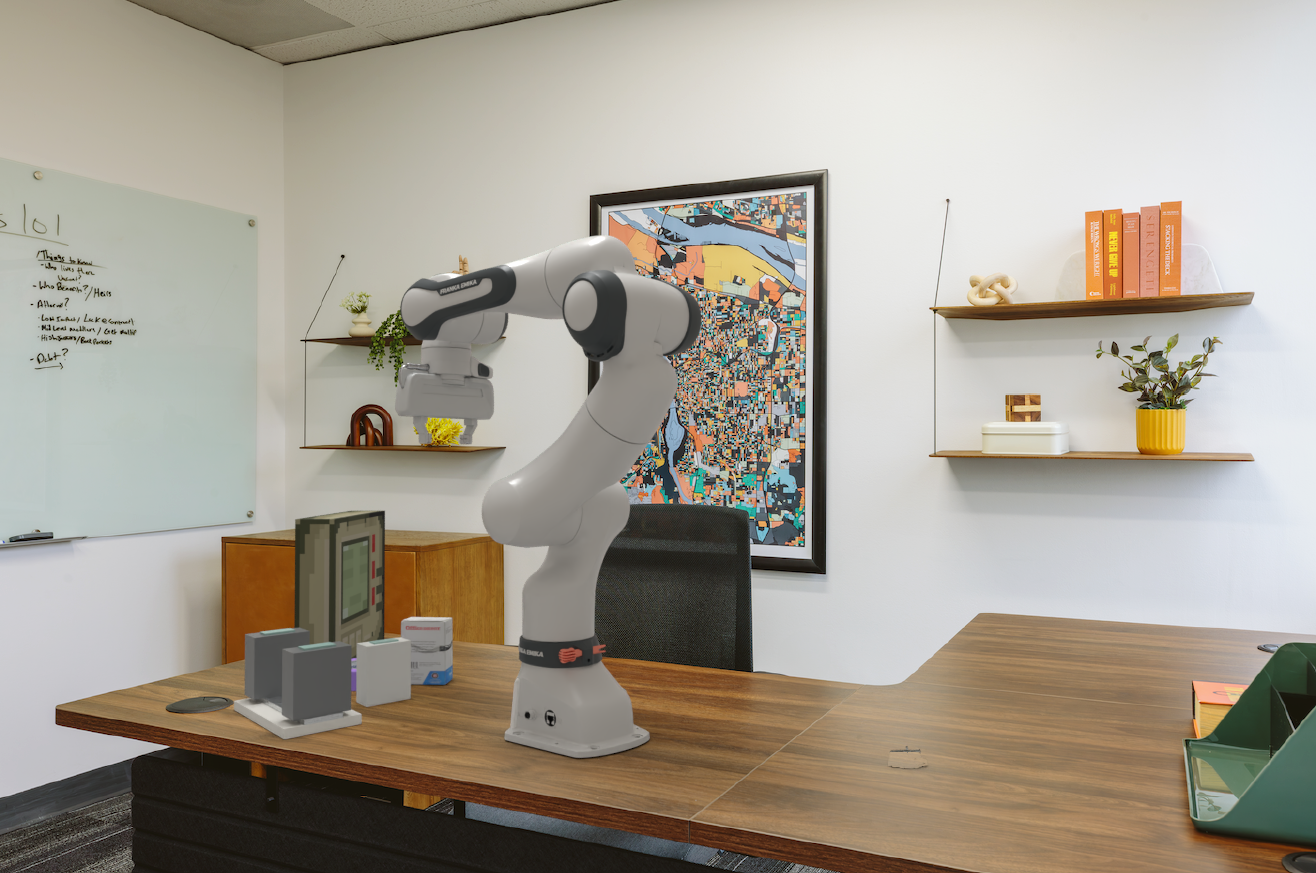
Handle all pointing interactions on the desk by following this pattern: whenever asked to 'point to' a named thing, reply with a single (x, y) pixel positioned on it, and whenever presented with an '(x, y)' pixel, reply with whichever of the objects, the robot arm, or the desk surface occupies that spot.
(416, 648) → the ink box
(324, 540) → the control panel
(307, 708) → the mounted modules
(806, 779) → the desk surface
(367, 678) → the block
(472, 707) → the desk surface
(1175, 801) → the desk surface
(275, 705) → the rail
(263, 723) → the mounting board
